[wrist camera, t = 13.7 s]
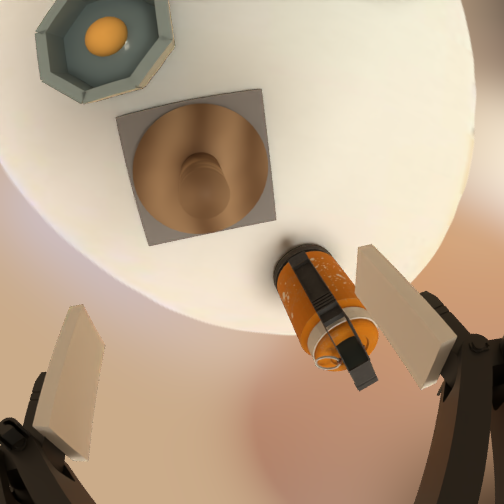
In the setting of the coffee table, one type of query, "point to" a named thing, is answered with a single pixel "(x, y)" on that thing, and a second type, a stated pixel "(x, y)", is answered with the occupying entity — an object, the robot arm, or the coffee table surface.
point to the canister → (327, 313)
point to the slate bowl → (96, 67)
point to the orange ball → (106, 36)
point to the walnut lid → (200, 168)
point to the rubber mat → (140, 122)
